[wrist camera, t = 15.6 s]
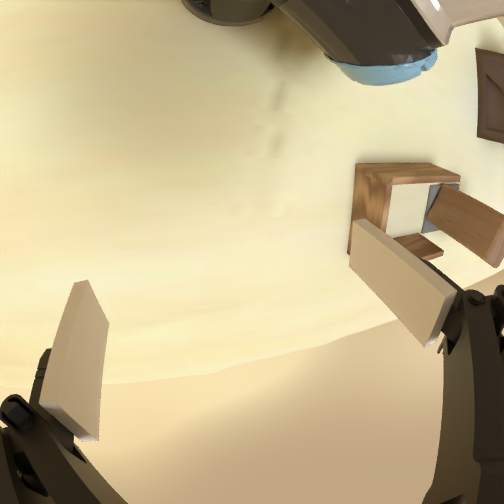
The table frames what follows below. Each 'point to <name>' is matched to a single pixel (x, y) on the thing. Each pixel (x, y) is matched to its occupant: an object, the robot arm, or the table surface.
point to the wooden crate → (490, 95)
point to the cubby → (379, 194)
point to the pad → (431, 198)
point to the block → (469, 223)
